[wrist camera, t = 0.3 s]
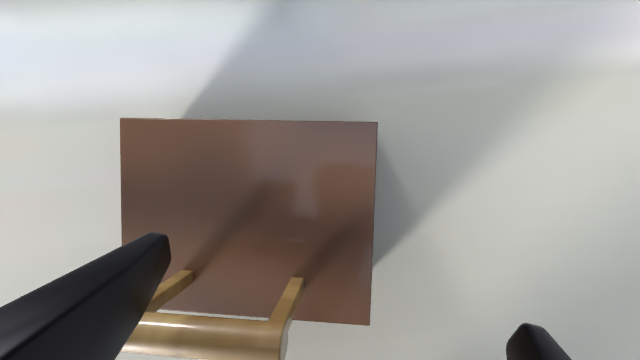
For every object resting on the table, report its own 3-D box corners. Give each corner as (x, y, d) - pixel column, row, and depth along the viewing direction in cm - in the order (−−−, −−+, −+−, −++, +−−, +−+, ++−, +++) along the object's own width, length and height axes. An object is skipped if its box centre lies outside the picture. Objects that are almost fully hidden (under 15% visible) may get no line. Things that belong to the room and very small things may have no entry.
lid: (369, 318, 18) (377, 422, 11) (131, 301, 20) (4, 383, 13) (376, 123, 18) (391, 100, 10) (129, 119, 19) (-8, 96, 12)
